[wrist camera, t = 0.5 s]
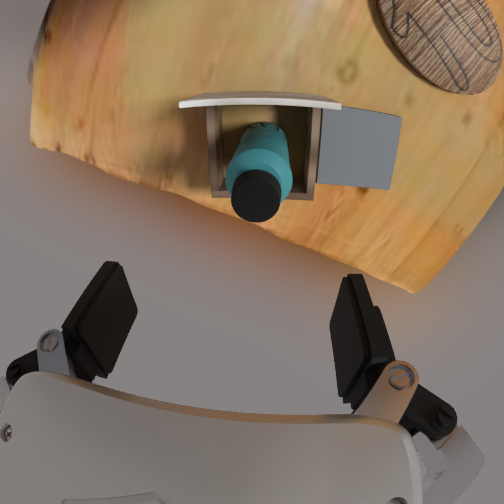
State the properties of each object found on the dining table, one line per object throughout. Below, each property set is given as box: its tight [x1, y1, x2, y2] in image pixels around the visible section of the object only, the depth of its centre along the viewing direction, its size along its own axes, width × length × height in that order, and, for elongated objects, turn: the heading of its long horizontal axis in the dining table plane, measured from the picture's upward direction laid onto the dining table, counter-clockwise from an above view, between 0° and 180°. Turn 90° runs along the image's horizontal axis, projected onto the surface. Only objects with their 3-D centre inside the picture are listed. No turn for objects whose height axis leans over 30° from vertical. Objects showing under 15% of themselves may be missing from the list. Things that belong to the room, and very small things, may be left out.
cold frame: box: [179, 91, 341, 201], centre depth 30 cm, size 15×14×15 cm
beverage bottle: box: [225, 121, 293, 222], centre depth 29 cm, size 6×7×20 cm
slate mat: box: [316, 106, 402, 190], centre depth 35 cm, size 12×12×1 cm
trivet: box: [376, 0, 502, 95], centre depth 19 cm, size 25×25×2 cm
